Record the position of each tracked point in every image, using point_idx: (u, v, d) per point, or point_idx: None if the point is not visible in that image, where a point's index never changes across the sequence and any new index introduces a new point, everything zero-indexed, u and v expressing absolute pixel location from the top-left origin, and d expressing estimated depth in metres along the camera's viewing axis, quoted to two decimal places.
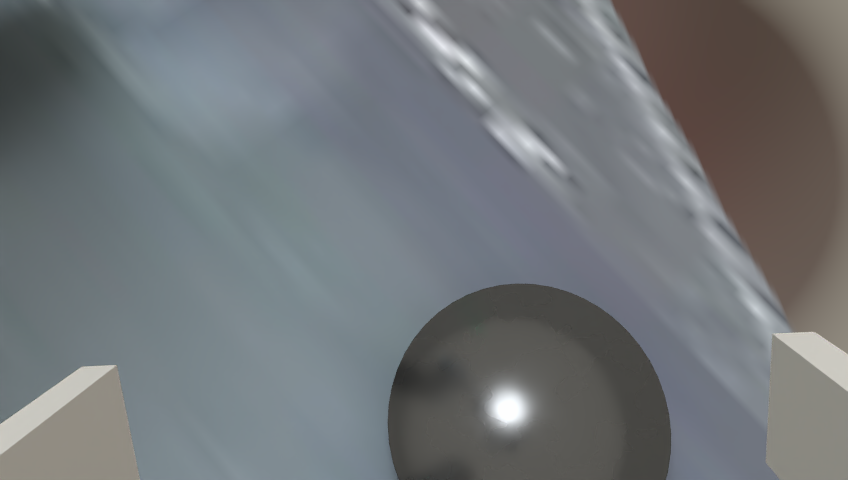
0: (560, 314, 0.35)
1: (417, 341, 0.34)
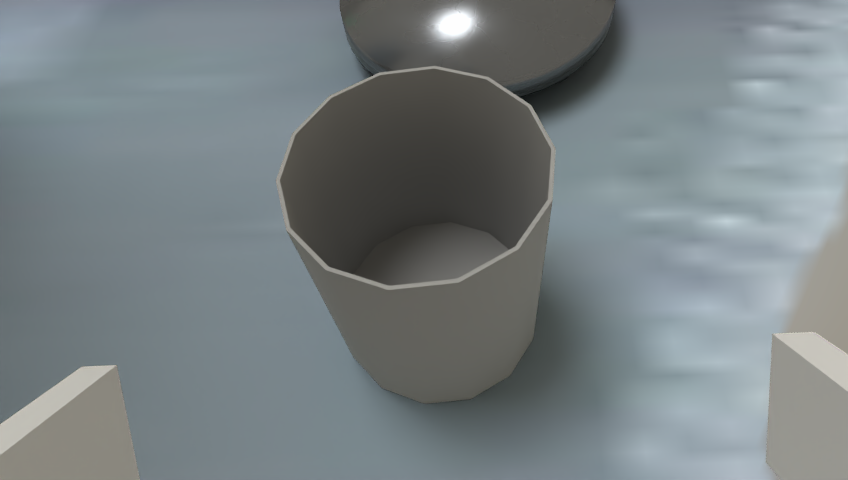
0: None
1: (344, 8, 0.34)
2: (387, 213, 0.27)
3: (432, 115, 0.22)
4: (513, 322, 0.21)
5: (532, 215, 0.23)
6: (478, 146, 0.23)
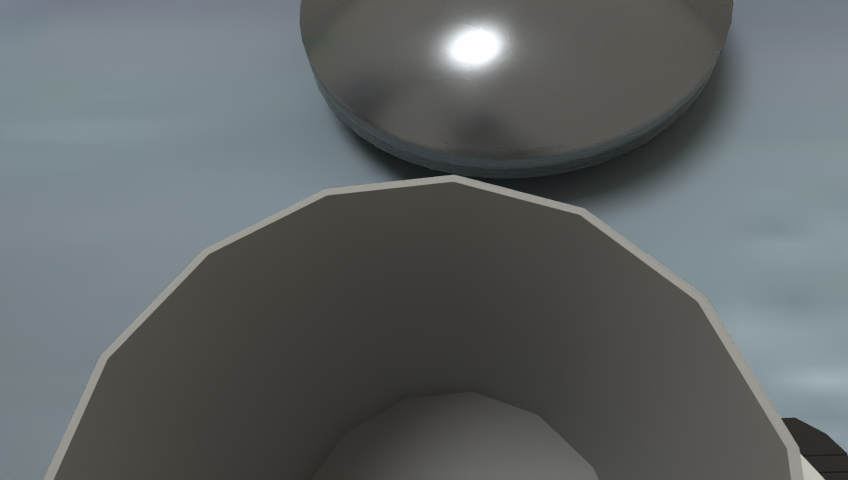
0: None
1: (306, 23, 0.22)
2: (362, 394, 0.15)
3: (446, 261, 0.11)
4: None
5: (653, 467, 0.11)
6: (540, 315, 0.11)
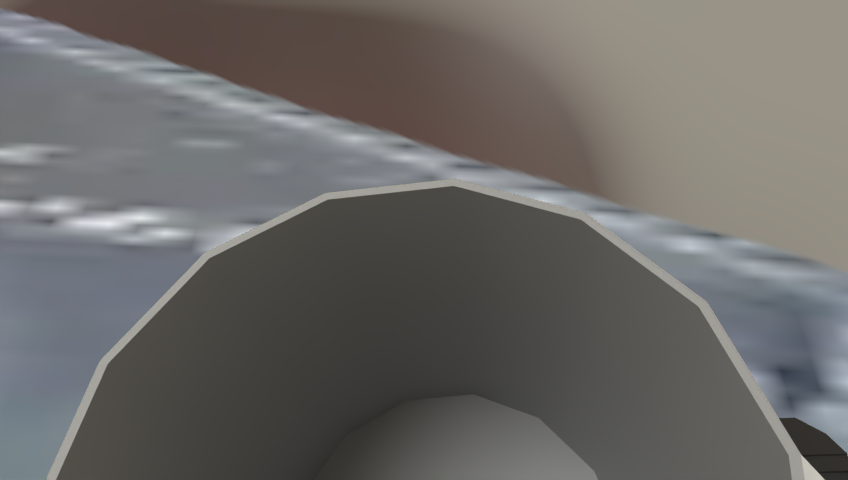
0: None
1: None
2: (362, 397, 0.15)
3: (446, 264, 0.11)
4: None
5: (654, 471, 0.11)
6: (541, 319, 0.11)
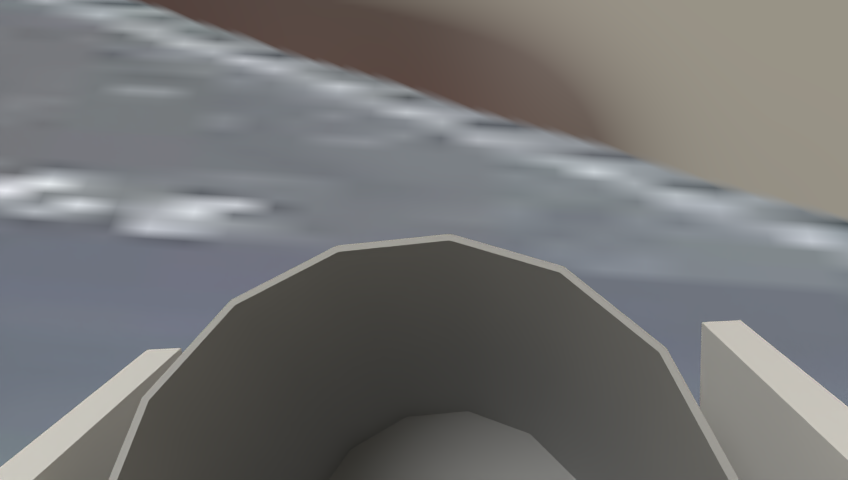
0: None
1: None
2: (365, 415, 0.16)
3: (443, 302, 0.12)
4: None
5: None
6: (528, 350, 0.12)
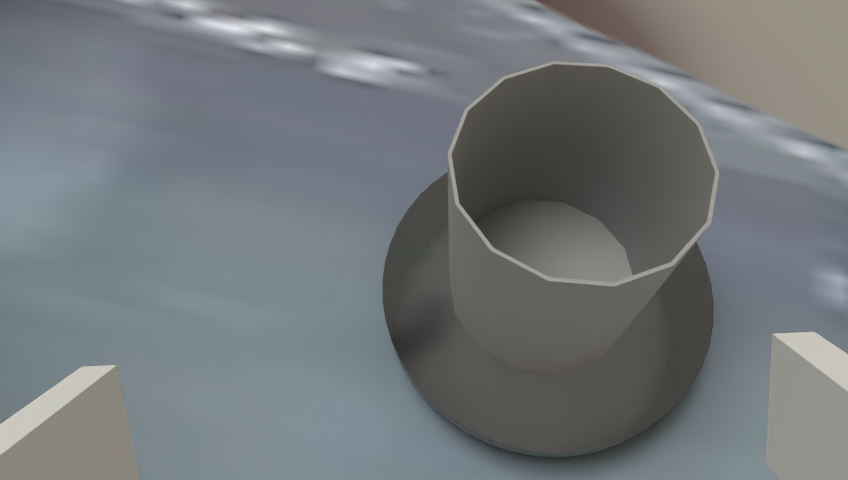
0: None
1: (388, 281, 0.29)
2: (510, 185, 0.28)
3: (587, 107, 0.23)
4: (630, 319, 0.22)
5: (661, 220, 0.24)
6: (623, 143, 0.24)
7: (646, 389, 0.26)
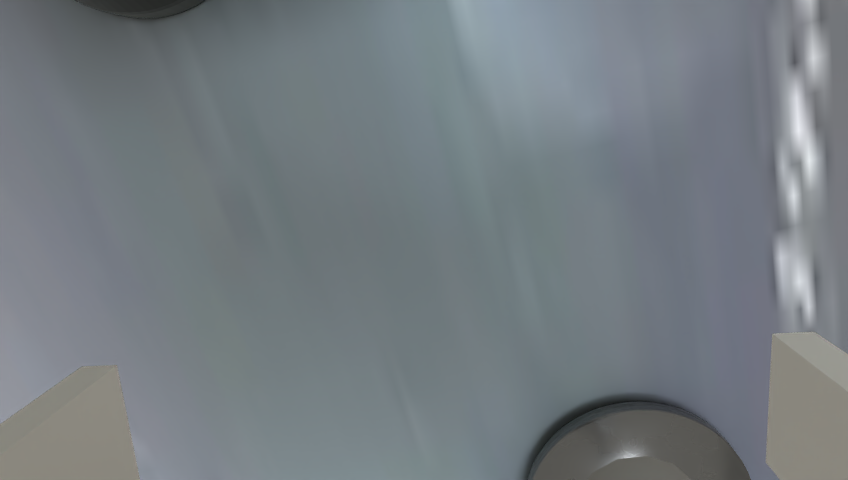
0: (714, 462, 0.40)
1: (595, 425, 0.40)
2: None
3: None
4: None
5: None
6: None
7: None
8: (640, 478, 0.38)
